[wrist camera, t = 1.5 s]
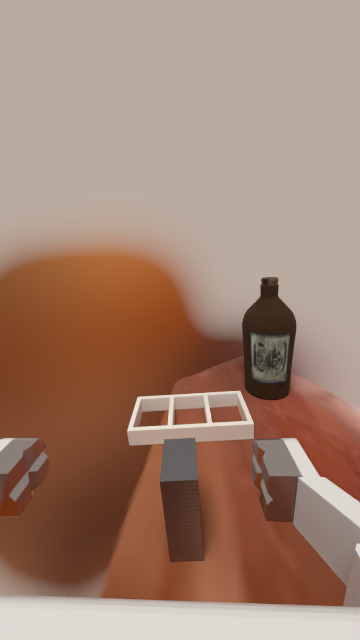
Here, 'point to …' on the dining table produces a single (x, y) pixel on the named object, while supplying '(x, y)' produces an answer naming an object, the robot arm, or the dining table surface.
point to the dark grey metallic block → (181, 500)
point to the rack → (196, 431)
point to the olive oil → (268, 343)
